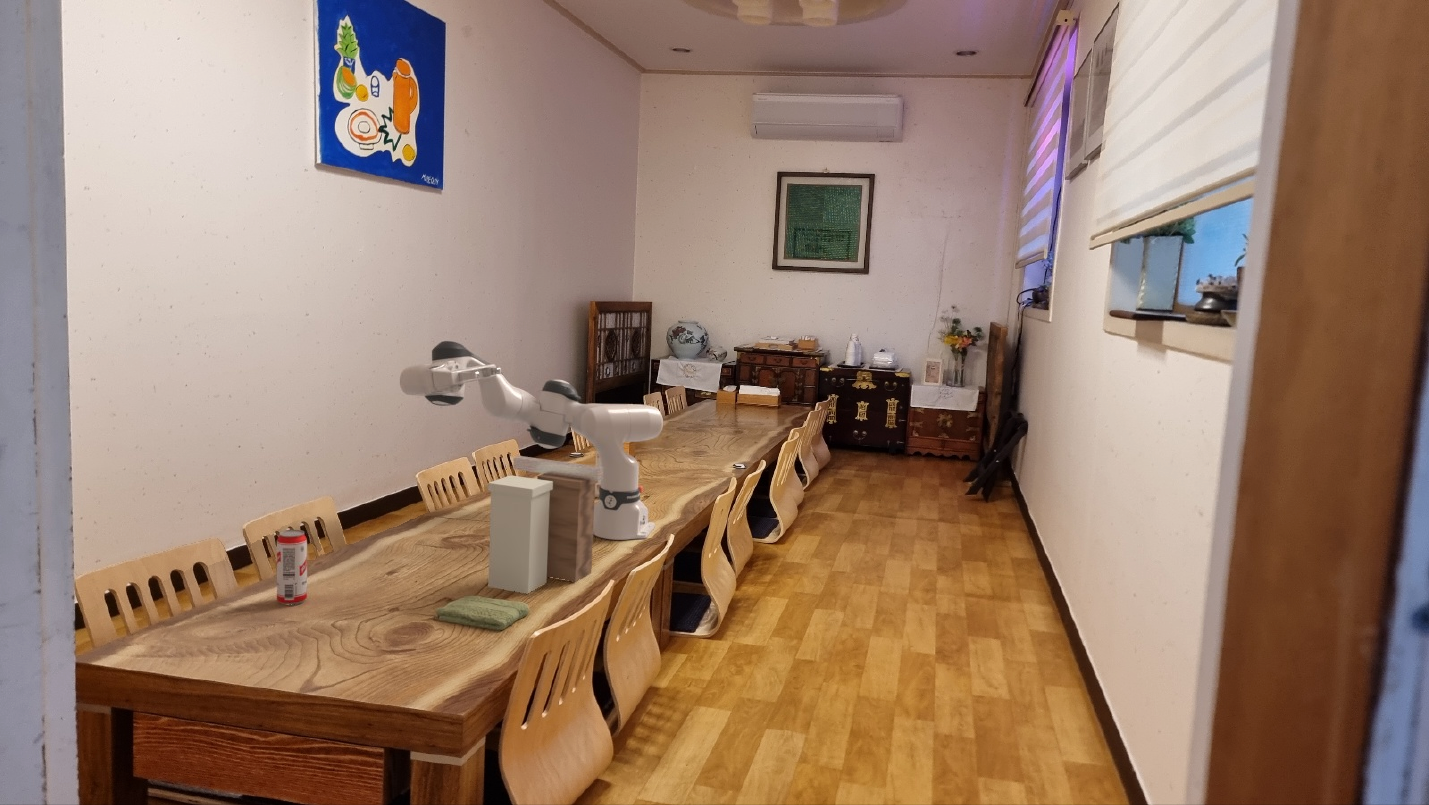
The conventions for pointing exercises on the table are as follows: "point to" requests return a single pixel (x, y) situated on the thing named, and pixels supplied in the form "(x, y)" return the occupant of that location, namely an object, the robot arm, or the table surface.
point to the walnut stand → (570, 527)
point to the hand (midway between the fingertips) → (488, 372)
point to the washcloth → (483, 612)
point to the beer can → (291, 567)
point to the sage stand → (518, 533)
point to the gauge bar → (558, 468)
